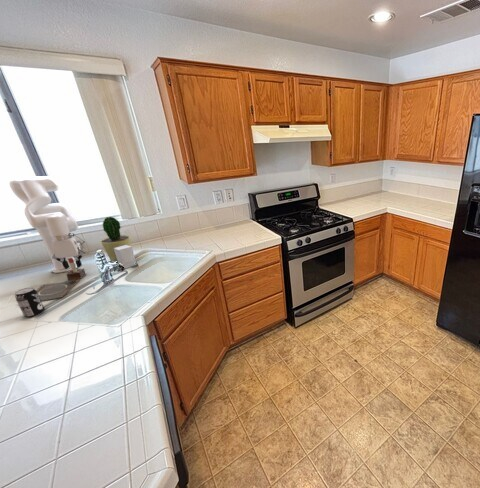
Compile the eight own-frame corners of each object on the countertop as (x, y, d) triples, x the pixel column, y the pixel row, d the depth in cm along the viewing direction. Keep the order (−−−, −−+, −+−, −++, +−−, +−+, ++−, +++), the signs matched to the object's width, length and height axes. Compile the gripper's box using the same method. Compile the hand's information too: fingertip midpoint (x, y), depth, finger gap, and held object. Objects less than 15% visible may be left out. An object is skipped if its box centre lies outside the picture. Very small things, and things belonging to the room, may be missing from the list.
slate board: (43, 285, 144) (43, 284, 143) (80, 280, 149) (79, 279, 149) (20, 304, 126) (19, 303, 126) (62, 298, 132) (61, 296, 131)
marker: (76, 277, 153) (68, 258, 149) (80, 276, 154) (73, 257, 149) (74, 278, 151) (67, 259, 147) (78, 277, 152) (71, 259, 148)
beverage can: (44, 307, 124) (34, 285, 120) (46, 312, 120) (35, 289, 116) (23, 314, 119) (12, 291, 115) (25, 319, 115) (13, 296, 111)
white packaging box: (137, 264, 168) (132, 246, 164) (124, 269, 162) (118, 250, 158) (131, 262, 172) (126, 244, 168) (118, 266, 166) (113, 247, 162)
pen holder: (73, 276, 154) (70, 270, 153) (86, 274, 156) (83, 268, 155) (68, 280, 149) (65, 274, 147) (81, 278, 151) (79, 272, 149)
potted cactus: (113, 266, 166) (98, 220, 156) (103, 261, 174) (88, 217, 164) (139, 258, 178) (127, 215, 168) (129, 253, 186) (117, 212, 176)
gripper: (84, 233, 150) (94, 262, 156) (45, 237, 144) (57, 267, 150) (78, 237, 143) (89, 267, 150) (37, 241, 137) (50, 272, 144)
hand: (73, 266), depth 150 cm, fingers open, 4 cm apart
